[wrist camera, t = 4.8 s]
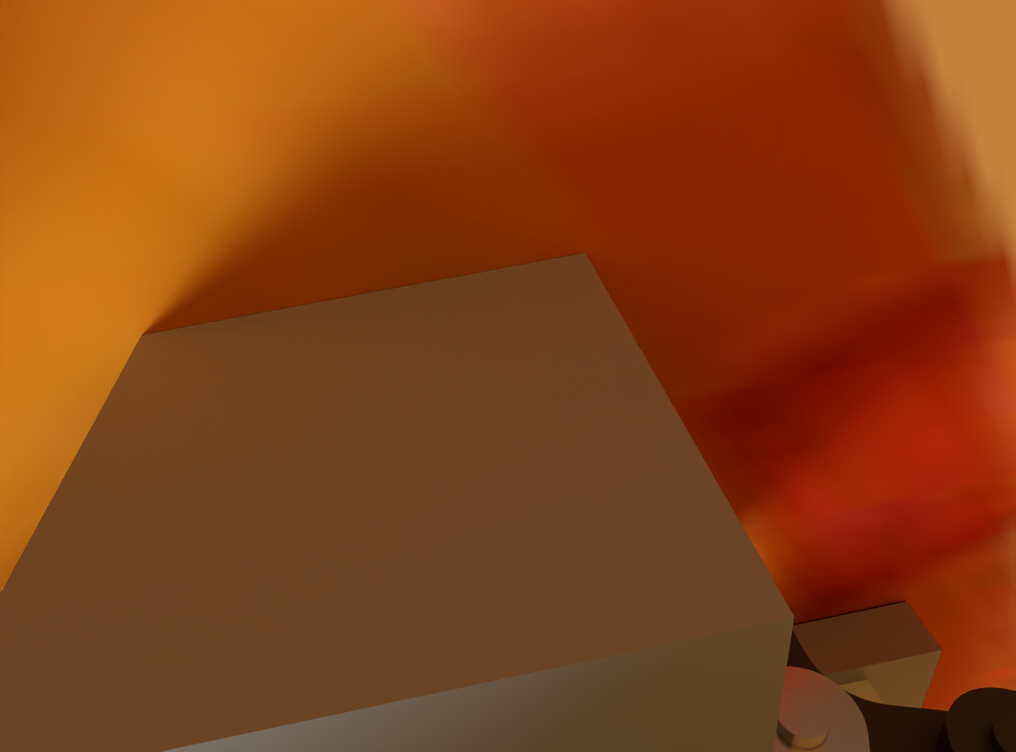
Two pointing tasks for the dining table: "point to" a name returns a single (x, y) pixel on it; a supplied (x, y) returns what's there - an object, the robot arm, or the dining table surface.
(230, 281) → the dining table surface
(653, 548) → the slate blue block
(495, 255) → the dining table surface
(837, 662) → the tower base
